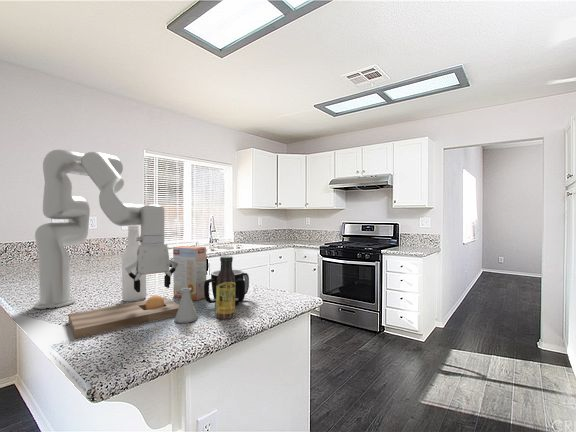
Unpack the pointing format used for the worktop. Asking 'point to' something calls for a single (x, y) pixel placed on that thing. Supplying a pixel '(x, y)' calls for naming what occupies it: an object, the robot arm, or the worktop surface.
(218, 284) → the sauce bottle
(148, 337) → the worktop surface
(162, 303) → the orange ball
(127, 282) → the alcohol
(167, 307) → the board
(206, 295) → the mug
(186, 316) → the flask
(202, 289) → the cracker box
